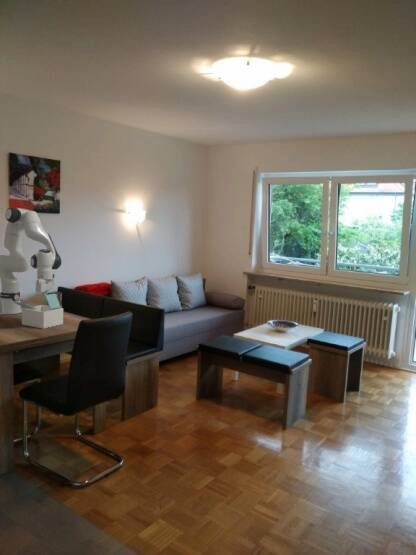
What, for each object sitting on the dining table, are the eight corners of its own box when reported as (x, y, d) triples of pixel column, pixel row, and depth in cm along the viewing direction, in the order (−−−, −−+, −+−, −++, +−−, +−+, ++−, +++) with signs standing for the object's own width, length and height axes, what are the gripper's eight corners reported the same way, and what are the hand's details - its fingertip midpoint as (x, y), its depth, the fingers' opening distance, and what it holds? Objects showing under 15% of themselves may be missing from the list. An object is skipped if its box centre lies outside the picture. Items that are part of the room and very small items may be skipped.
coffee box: (53, 314, 305) (54, 291, 303) (62, 315, 304) (62, 292, 302) (46, 316, 296) (46, 293, 294) (55, 317, 295) (55, 293, 293)
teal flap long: (24, 307, 270) (13, 302, 262) (24, 306, 270) (13, 301, 262) (36, 309, 265) (25, 304, 258) (36, 308, 266) (26, 303, 258)
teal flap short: (50, 308, 269) (44, 295, 270) (59, 307, 276) (54, 293, 277) (50, 308, 268) (45, 295, 269) (60, 306, 276) (55, 293, 277)
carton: (20, 324, 272) (20, 308, 271) (41, 319, 287) (41, 304, 286) (43, 328, 264) (43, 312, 263) (63, 323, 279) (64, 308, 278)
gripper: (43, 278, 264) (43, 300, 265) (55, 274, 284) (55, 295, 286) (32, 277, 264) (32, 300, 265) (45, 273, 284) (45, 295, 286)
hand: (44, 297), depth 276 cm, fingers closed
